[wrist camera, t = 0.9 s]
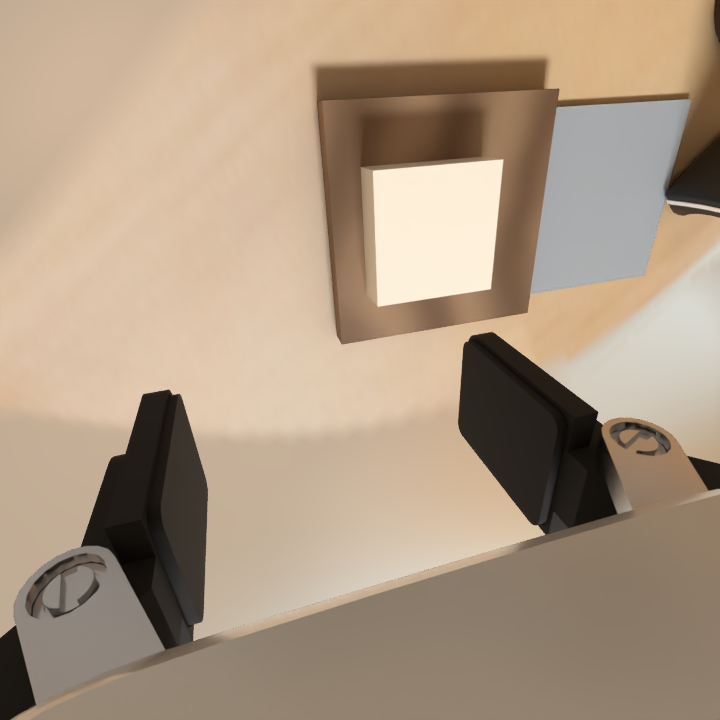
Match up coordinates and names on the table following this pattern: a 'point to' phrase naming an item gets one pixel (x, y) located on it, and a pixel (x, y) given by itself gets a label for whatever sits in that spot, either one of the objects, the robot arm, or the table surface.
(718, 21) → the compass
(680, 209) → the battery charger
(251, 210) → the table surface
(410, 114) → the board
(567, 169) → the mat
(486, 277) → the coaster
